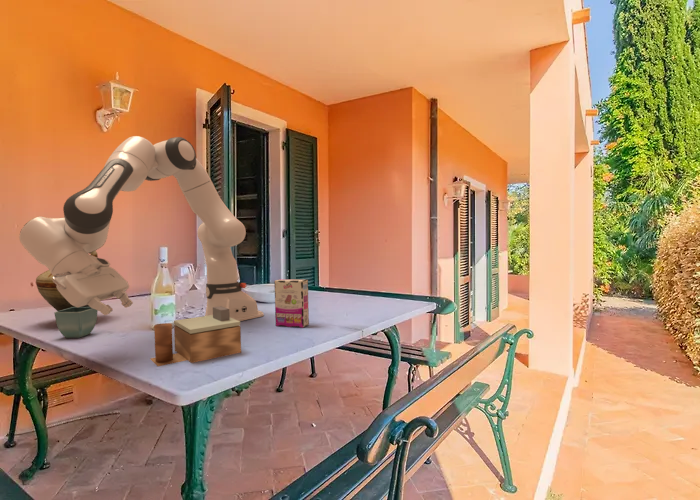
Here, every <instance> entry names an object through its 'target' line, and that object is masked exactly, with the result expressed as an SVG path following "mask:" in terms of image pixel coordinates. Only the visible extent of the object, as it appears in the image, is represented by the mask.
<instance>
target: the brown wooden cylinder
mask: <svg viewBox="0 0 700 500" xmlns="http://www.w3.org/2000/svg"><path fill="white" fill-rule="evenodd" d="M153 329H154V332H153V333H154V355H155V356H154V358H155V360H156V362H157V363H164V362H169V361H171V360H173V354H174V350H173V324H172V323H171V322H168V323H166V322H163V323H157V324H155V325H154V326H153Z"/></svg>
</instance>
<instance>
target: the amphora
mask: <svg viewBox="0 0 700 500" xmlns="http://www.w3.org/2000/svg"><path fill="white" fill-rule="evenodd" d="M88 254H89V255H92V256H94V257H97V258H99V256H98V252H97V250H95V251H93V252H91V253H88ZM35 284H36V285H35V286H36V288H37V291H38V293H39V294H40V296H41V297H42V298H43V299H44V300H45V301H46V302H47V303H48V304H49V305H50V306H51V307H52V308H53V309H54V310H55V311H56V312H57V311H61V310H64V309H68V308H72V307H75V306H73V305H71V304H70V303H69V302H68V301H67V300H66V299H65V298H64V297H63V296H62V295H61V293H60V292H59V291H58V289H57V287H56V286H57V285H56V284H55V283H54V282H53V275H52V274H51V272H50V270H49V269H48V270H46V271H44V272H42V273H40V274H39V275H37V276H36V278H35ZM81 307H90V306H89V305H85V306H81Z"/></svg>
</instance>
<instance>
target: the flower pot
mask: <svg viewBox="0 0 700 500" xmlns="http://www.w3.org/2000/svg"><path fill="white" fill-rule="evenodd" d="M98 312H99V311H98V310H96V309H93V308H91V307H72V308H68V309H64V310H61V311H57V310H56V311H54V317H55V324H56V326H57V329H58V331H59V332H60V333H61V335H62V336H63V337H64V338H65V339H66V338H67V339H69V338H72V339H73V338H75V339H76V338H78V339H79V338H83V337H85V336H88V335H91V333H92V332H93V330H94V329H95V326H96V323H97V320H98Z"/></svg>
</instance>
